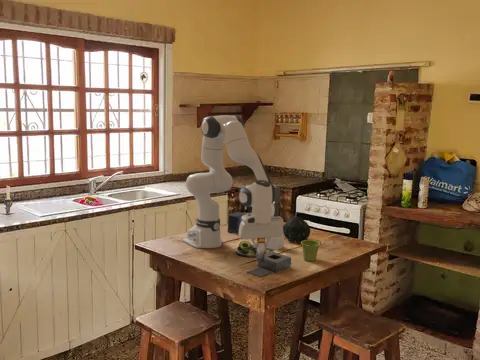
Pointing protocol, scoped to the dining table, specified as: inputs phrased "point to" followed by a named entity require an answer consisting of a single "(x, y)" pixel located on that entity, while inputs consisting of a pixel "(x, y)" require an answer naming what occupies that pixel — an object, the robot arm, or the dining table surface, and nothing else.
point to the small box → (234, 222)
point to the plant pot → (310, 249)
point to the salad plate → (248, 249)
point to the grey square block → (275, 262)
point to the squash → (296, 229)
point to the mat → (259, 272)
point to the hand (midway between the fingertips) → (260, 247)
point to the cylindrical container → (260, 250)
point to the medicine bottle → (276, 243)
